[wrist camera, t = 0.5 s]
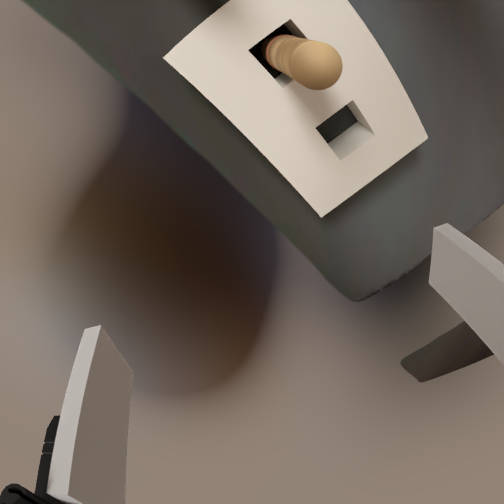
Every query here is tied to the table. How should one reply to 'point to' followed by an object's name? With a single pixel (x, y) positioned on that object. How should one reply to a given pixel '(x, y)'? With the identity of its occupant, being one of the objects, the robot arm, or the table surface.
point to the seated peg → (304, 60)
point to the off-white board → (304, 95)
